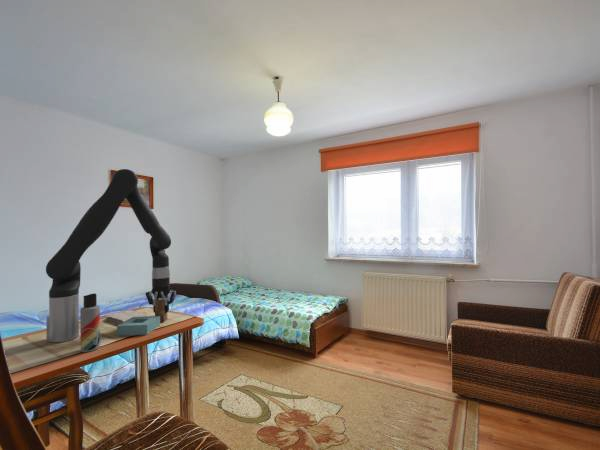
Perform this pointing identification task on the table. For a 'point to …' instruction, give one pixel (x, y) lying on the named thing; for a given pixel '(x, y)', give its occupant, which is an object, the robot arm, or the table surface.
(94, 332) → the lotion bottle
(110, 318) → the washcloth
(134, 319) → the socket block
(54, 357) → the table surface
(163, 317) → the peg
